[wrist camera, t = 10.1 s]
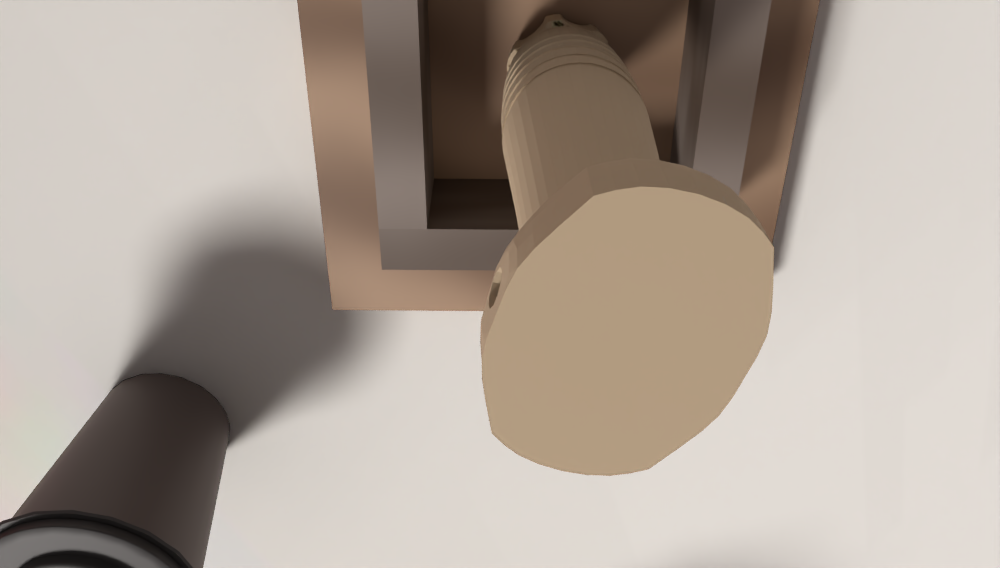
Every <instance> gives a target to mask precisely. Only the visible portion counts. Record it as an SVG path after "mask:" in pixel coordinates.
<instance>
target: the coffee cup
mask: <svg viewBox="0 0 1000 568" xmlns="http://www.w3.org/2000/svg"><path fill="white" fill-rule="evenodd" d="M229 431H230V425H229V421H228V418H227V414H226V412H225V410H224V409H223V408H222V406H221V405H220V403H219V402H218V401H217V399H216V398H215V397H214V396H212V395H211V394H210V393H209V392H207V391H206V390H205V389H203V388H202V387H201V386H199V385H197V384H194V383H192V382H190V381H188V380H186V379H183V378H181V377H176V376H170V375H165V374H142V375H138V376H135V377H132V378H129V379H126V380H124V381H123V382H121V383H120V384H119V385H117V386H116V387H115V388H114V389H112V390H111V391H110V393H109V394H108V395H107V397H106V398H105V399H104V400H103V402H102V403H101V404H100V406H99V407H98V408H97V409H96V411H95V412H94V413H93V415H92V416H91V417H90V418H89V420H88V421H87V422H86V424H85V425H84V426H83V427H82V429H81V430H80V431H79V433H78V434H77V435H76V436H75V438H74V439H73V440H72V442H71V443H70V444H69V445H68V447H67V448H66V449H65V451H64V452H63V453H62V454H61V456H60V457H59V458H58V460H57V461H56V462H55V463H54V465H53V466H52V467H51V468H50V470H49V471H48V472H47V474H46V475H45V476H44V477H43V479H42V480H41V481H40V483H39V484H38V485H37V486H36V488H35V489H34V490H33V492H32V493H31V494H30V495H29V497H28V498H27V499H26V501H25V502H24V503H23V504H22V506H21V507H20V508H19V510H18V511H17V512H16V513H15V515H14V516H13V517H12V518H11V519H8V520H4V521H2V522H0V568H203V565H204V560H205V555H206V550H207V545H208V540H209V535H210V530H211V525H212V520H213V515H214V510H215V505H216V499H217V494H218V489H219V484H220V479H221V474H222V469H223V464H224V459H225V454H226V449H227V444H228V438H229Z"/></svg>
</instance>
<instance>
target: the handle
mask: <svg viewBox="0 0 1000 568" xmlns="http://www.w3.org/2000/svg"><path fill="white" fill-rule="evenodd" d="M507 71H508V72H507V76H506V80H505V85H504V90H503V101H502V114H501V127H502V146H503V154H504V159H505V164H506V169H507V173H508V178H509V183H510V187H511V192H512V197H513V202H514V206H515V212H516V217H517V222H518V228H519V231H518V232H517V234H516V235H515V237H514V238H513V239H512V241H511V242H510V243H509V245H508V246H507V247H506V249H505V251H504V253H503V255H502V257H501V259H500V261H499V263H498V265H497V267H496V270H495V273H494V277H493V280H492V284H491V287H490V291H489V294H488V297H487V300H486V304H485V307H484V312H483V316H482V320H481V341H480V343H481V356H482V381H483V388H484V394H485V400H486V406H487V411H488V416H489V421H490V426H491V431H492V434H493V435H494V436H495V437H496V438H497V439H498V440H500V441H501V442H502V443H503V444H504V445H505V446H506V447H508V448H509V449H511V450H512V451H514V452H515V453H516V454H518V455H519V456H522V457H524V458H526V459H528V460H531V461H533V462H535V463H537V464H540V465H544V466H547V467H550V468H554V469H557V470H561V471H566V472H572V473H578V474H585V475H606V476H611V475H620V474H628V473H633V472H638V471H643V470H647V469H650V468H651V467H652V466H654V465H655V464H657V463H658V462H660V461H661V460H662V459H664V458H665V457H667V456H668V455H670V454H671V453H672V452H674V451H675V450H677V449H678V448H680V447H681V446H682V445H684V444H685V443H686V442H688V441H689V440H690V439H692V438H693V437H695V436H696V435H697V434H699V433H700V432H701V431H702V430H704V429H705V428H706V427H707V426H708V425H709V424H710V423H711V422H712V421H714V420H715V419H716V418H717V417H718V416H719V415H720V414H721V412H722V411H723V410H724V408H725V407H726V406H727V404H728V403H729V402H730V400H731V399H732V398H733V396H734V394H735V393H736V391H737V389H738V388H739V386H740V384H741V383H742V381H743V379H744V378H745V376H746V374H747V373H748V371H749V369H750V368H751V366H752V364H753V363H754V361H755V359H756V358H757V356H758V353H759V351H760V349H761V347H762V345H763V343H764V340H765V338H766V336H767V333H768V328H769V323H770V318H771V312H772V295H773V268H774V246H773V245H772V243H771V241H770V239H769V237H768V235H767V233H766V232H765V230H764V228H763V227H762V225H761V223H760V222H759V220H758V219H757V217H756V216H755V215H754V213H753V212H752V210H751V209H750V208H749V206H748V205H747V204H746V203H745V202H744V201H743V200H742V199H741V198H740V197H739V196H738V195H737V194H736V193H735V192H734V191H733V190H732V189H731V188H729V187H728V186H726V185H724V184H723V183H721V182H719V181H718V180H716V179H714V178H713V177H711V176H709V175H707V174H705V173H702V172H699V171H697V170H694V169H692V168H689V167H687V166H684V165H679V164H675V163H670V162H665V161H661V160H659V155H658V151H657V147H656V143H655V139H654V135H653V131H652V127H651V123H650V119H649V116H648V113H647V109H646V106H645V104H644V101H643V99H642V97H641V94H640V92H639V90H638V87H637V85H636V83H635V81H634V79H633V78H632V76H631V74H630V72H629V71H628V69H627V67H626V66H625V64H624V63H623V61H622V60H621V59H620V57H619V56H618V55H617V54H616V52H615V51H614V50H613V49H612V48H611V47H610V46H609V45H608V41H607V39H606V38H605V37H604V35H603V34H602V33H601V31H600V30H598V29H597V28H596V27H595V26H593V25H591V24H589V25H578V24H574V23H571V22H569V21H567V20H566V19H564V18H563V16H562V15H560V14H553V15H549V16H546V17H545V19H544V21H543V23H542V24H541V26H540V27H539V28H538V29H537V30H536V31H535V32H534V33H533V34H531V35H530V36H528V37H527V38H525V39H523V40H517V41H516V42H515V43H514V45H513V47H512V49H511V51H510V53H509V57H508V62H507Z"/></svg>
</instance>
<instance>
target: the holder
mask: <svg viewBox="0 0 1000 568" xmlns="http://www.w3.org/2000/svg"><path fill="white" fill-rule="evenodd" d="M819 2H820V0H297V3H298V12H299V20H300V29H301V38H302V47H303V56H304V64H305V73H306V82H307V91H308V100H309V108H310V117H311V126H312V135H313V144H314V152H315V161H316V170H317V179H318V188H319V196H320V205H321V214H322V223H323V232H324V240H325V249H326V258H327V267H328V276H329V284H330V293H331V302H332V310H429V311H484V307H485V304H486V300H487V297H488V294H489V291H490V287H491V284H492V280H493V277H494V273H495V270H496V267H497V265H498V263H499V261H500V259H501V257H502V255H503V253H504V251H505V249H506V247H507V246H508V245H509V243H510V242H511V241H512V239H513V238H514V237H515V235H516V234H517V232H518V231H519V228H518V222H517V217H516V212H515V206H514V202H513V197H512V192H511V187H510V183H509V178H508V173H507V169H506V164H505V159H504V154H503V146H502V127H501V114H502V101H503V90H504V85H505V80H506V76H507V72H508V71H507V62H508V57H509V53H510V51H511V49H512V47H513V45H514V43H515V42H516V41H517V40H523V39H525V38H527V37H528V36H530V35H531V34H533V33H534V32H535V31H536V30H537V29H538V28H539V27H540V26H541V24H542V23H543V21H544V19H545V17H546V16H549V15H553V14H560V15H562V16H563V18H564V19H566V20H567V21H569V22H571V23H574V24H578V25H589V24H591V25H593V26H595V27H596V28H597V29H598V30H600V31H601V33H602V34H603V35H604V37H605V38H606V39H607V41H608V45H609V46H610V47H611V48H612V49H613V50H614V51H615V52H616V54H617V55H618V56H619V57H620V59H621V60H622V61H623V63H624V64H625V66H626V67H627V69H628V71H629V72H630V74H631V76H632V78H633V79H634V81H635V83H636V85H637V87H638V90H639V92H640V94H641V97H642V99H643V101H644V104H645V106H646V109H647V113H648V116H649V119H650V123H651V127H652V131H653V135H654V139H655V143H656V147H657V151H658V155H659V160H661V161H665V162H670V163H675V164H679V165H684V166H687V167H689V168H692V169H694V170H697V171H699V172H702V173H705V174H707V175H709V176H711V177H713V178H714V179H716V180H718V181H719V182H721V183H723V184H724V185H726V186H728V187H729V188H731V189H732V190H733V191H734V192H735V193H736V194H737V195H738V196H739V197H740V198H741V199H742V200H743V201H744V202H745V203H746V204H747V205H748V206H749V208H750V209H751V210H752V212H753V213H754V215H755V216H756V217H757V219H758V220H759V222H760V223H761V225H762V227H763V228H764V230H765V232H766V233H767V235H768V237H769V239H770V241H771V243H772V242H773V237H774V232H775V227H776V221H777V216H778V211H779V206H780V201H781V196H782V191H783V186H784V181H785V175H786V170H787V165H788V160H789V155H790V150H791V145H792V140H793V135H794V130H795V124H796V119H797V114H798V109H799V104H800V99H801V94H802V89H803V84H804V79H805V73H806V68H807V63H808V58H809V53H810V48H811V43H812V38H813V33H814V27H815V22H816V17H817V12H818V7H819Z"/></svg>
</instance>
